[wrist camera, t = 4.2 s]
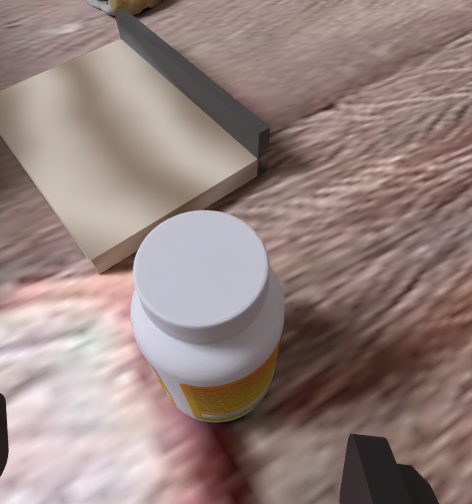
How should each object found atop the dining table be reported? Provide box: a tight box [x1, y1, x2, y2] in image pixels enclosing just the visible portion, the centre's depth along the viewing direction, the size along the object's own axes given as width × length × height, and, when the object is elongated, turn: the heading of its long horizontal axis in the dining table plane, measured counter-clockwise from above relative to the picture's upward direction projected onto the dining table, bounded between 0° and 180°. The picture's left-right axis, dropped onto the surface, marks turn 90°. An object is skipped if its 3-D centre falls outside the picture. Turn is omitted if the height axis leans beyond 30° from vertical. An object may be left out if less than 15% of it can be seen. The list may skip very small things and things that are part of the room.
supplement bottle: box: [130, 210, 285, 422], centre depth 16 cm, size 5×5×10 cm
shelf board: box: [0, 8, 270, 274], centre depth 27 cm, size 12×16×4 cm
